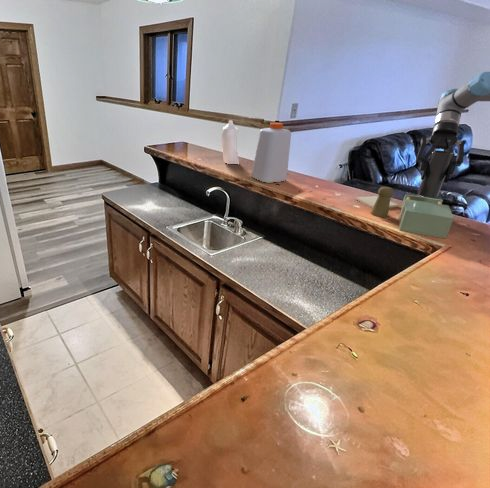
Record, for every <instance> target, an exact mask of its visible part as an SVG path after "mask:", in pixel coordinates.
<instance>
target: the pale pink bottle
mask: <svg viewBox="0 0 490 488" xmlns="http://www.w3.org/2000/svg"><path fill="white" fill-rule="evenodd" d="M233 121H234V120H231V119H229V120H228V123H227V124H226V125H225V126H224V127H222V130H221V149H222V158H223V163H224V162H225V163H227V164H226V165H228V164H238V165H240V160H239V154H238V148H237V146H238V145H237V144H238V131H239V130H238V129H239V128H238V127H237V126H235V124H234V122H233ZM225 163H224V164H225Z"/></svg>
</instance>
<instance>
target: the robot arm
mask: <svg viewBox="0 0 490 488" xmlns="http://www.w3.org/2000/svg"><path fill="white" fill-rule="evenodd" d="M477 102H478V103H479V102H490V71H483V72H481V73H480V74H478V75H477V76H475V77H472V78H471V79H470V80H469V81H467V82H466V83H464V85H461V86H460V87H459V88H451V89H449V90H446V91H444V92H443V93H442V94H441V96H440V99H439V101H438V103H437V108H436V109H437V111H436V115H435V119H434V124H433V128H432V133H431V136H429V137H426V136H422V137H421V139H420V147H419V149H418V153H417V156H416V159H415V162H416V163H419V164H420V166H419V171H422V173H421V176H420V180H421V181H422V180H423V179H424V177H425V175H426V171H427V166H428V161H429V158H430V155H431V152H432V151H435V150H443V151H447V152H452V153H454V154H453V157H452V159H451V162H450V165H449V167H448V170H447V173H446V175H445V178H444V181H443V183H445V184H447V183H448V182H449V180H450V178H451V175H453V174H454V173H455V170H456V167H461V166H462V164H463V163H464V153H465V145H466V143H467V140H466V139H463V140H459V139H458V131H459V126H460V123H461V122H460V121H461V117H462V112H463V111H464V110H466V109H467V108H469V107H471V106H472V105H474V104H476V103H477ZM428 143H430V144H431V147H430V149H428V151H427V153H426V154H425V155H424V156H423V154H424V151H425V148H426V145H427V144H428ZM454 145H456V147H457V151H456V156H455V152H454V148H453V146H454ZM422 156H423V157H422Z"/></svg>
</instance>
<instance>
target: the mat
mask: <svg viewBox="0 0 490 488" xmlns="http://www.w3.org/2000/svg"><path fill="white" fill-rule="evenodd" d="M378 196H379V195H371V196H355V197H354V200H355V199H356V200H355V201H357V200H358V201H357V202H359V201H360V202H359V203H361V204H363V205H365V206H367V207H369V208H370V209H371V208H372V209H373V206H374V204H375V202H376V200H377V198H378ZM391 208H400V204H398V203H396V202H394V201H391V200H390V205H389V209H391Z"/></svg>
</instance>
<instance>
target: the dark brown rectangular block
mask: <svg viewBox="0 0 490 488" xmlns="http://www.w3.org/2000/svg"><path fill="white" fill-rule="evenodd" d="M453 154H454V155H455V152H454V153H452V152H447V151H445V150H439V149H435V150H434V151H432V152H431V155H430V157H429V158H428V160H427V161H428V166H427V171H426V175H425V177H424V179H423V180H421V182H420V184H419V187H418V190H417V195H418V196H421V197H427V198H438V196H439V194H440V191H441V188H442V186H443V184H444V181H445V176H446V173H447V170H448V167H449V165H450V162H451V159H452V157H453Z"/></svg>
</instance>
